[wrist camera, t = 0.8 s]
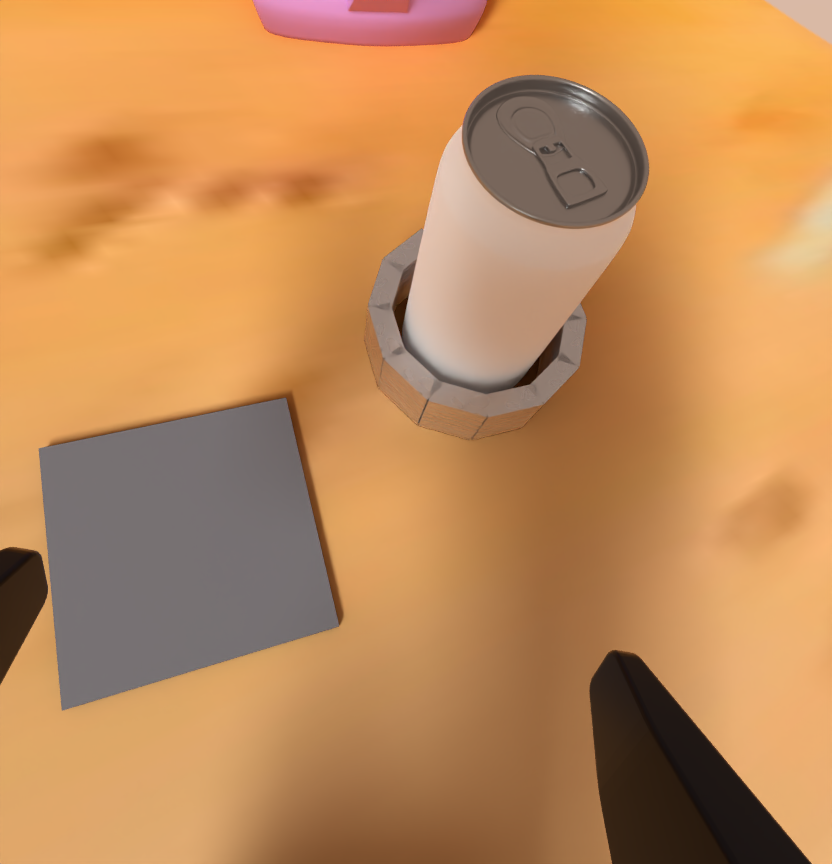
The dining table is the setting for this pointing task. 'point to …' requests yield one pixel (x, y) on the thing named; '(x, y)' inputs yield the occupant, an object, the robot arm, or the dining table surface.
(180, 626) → the mat
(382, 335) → the holder
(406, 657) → the dining table surface
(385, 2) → the teakettle
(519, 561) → the dining table surface
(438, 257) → the can
